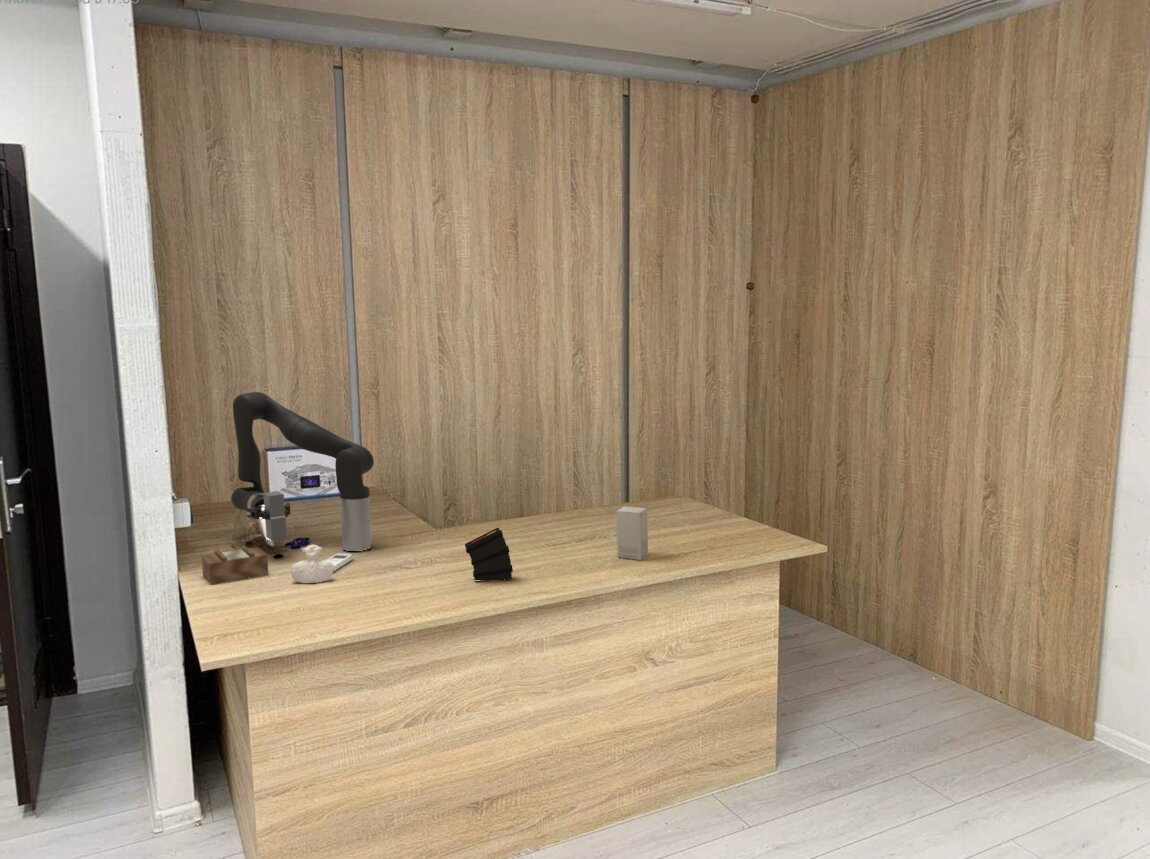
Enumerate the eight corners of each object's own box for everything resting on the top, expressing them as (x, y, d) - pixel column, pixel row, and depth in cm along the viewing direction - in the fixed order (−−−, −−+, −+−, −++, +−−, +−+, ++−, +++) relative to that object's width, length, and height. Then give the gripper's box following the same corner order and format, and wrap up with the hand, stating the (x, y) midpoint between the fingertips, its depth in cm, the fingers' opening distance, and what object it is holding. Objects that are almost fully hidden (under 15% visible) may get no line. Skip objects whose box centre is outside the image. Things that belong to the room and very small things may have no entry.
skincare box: (648, 556, 278) (648, 507, 275) (641, 561, 272) (641, 512, 270) (623, 553, 281) (624, 505, 279) (615, 558, 275) (616, 509, 273)
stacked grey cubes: (266, 536, 276) (263, 493, 274) (281, 534, 278) (278, 490, 276) (271, 540, 271) (268, 496, 269) (286, 538, 273) (283, 494, 271)
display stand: (258, 566, 267) (257, 544, 266) (268, 574, 259) (267, 551, 258) (203, 575, 258) (201, 552, 257) (210, 584, 250) (209, 560, 249)
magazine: (523, 574, 253) (500, 529, 250) (482, 595, 252) (458, 550, 250) (522, 570, 257) (499, 526, 254) (481, 591, 256) (458, 546, 253)
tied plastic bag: (334, 586, 255) (335, 550, 260) (332, 577, 248) (333, 540, 254) (291, 589, 253) (293, 552, 258) (288, 579, 246) (290, 542, 252)
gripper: (238, 497, 280) (252, 506, 267) (283, 491, 289) (300, 500, 275) (240, 520, 282) (254, 531, 268) (285, 513, 290) (301, 523, 276)
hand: (277, 515), depth 271 cm, fingers closed on stacked grey cubes, 4 cm apart
